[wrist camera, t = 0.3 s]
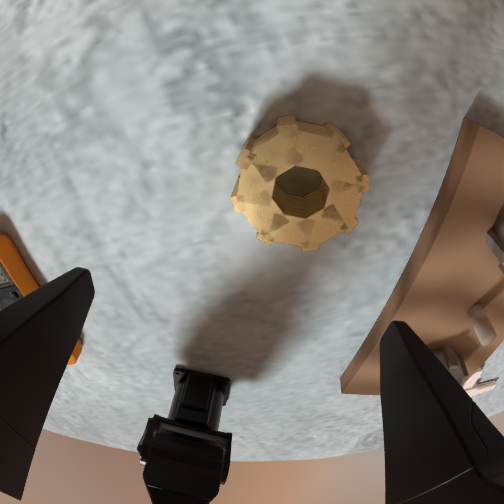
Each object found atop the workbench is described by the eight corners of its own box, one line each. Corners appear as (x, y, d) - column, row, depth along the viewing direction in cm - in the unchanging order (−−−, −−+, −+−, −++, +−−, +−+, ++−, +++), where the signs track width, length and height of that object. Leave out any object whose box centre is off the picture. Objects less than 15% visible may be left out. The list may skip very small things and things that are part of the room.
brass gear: (338, 234, 21) (345, 259, 19) (232, 214, 21) (225, 238, 19) (370, 132, 17) (383, 145, 15) (248, 106, 17) (242, 114, 15)
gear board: (449, 381, 31) (459, 416, 27) (340, 378, 31) (343, 421, 27) (575, 187, 15) (610, 217, 11) (464, 117, 15) (512, 141, 11)
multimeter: (53, 347, 36) (42, 365, 33) (-21, 243, 27) (-38, 259, 24) (92, 347, 34) (81, 368, 31) (9, 226, 25) (-11, 245, 22)
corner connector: (509, 354, 29) (513, 363, 28) (487, 386, 33) (490, 394, 32) (464, 366, 30) (468, 376, 29) (445, 397, 35) (448, 406, 34)
